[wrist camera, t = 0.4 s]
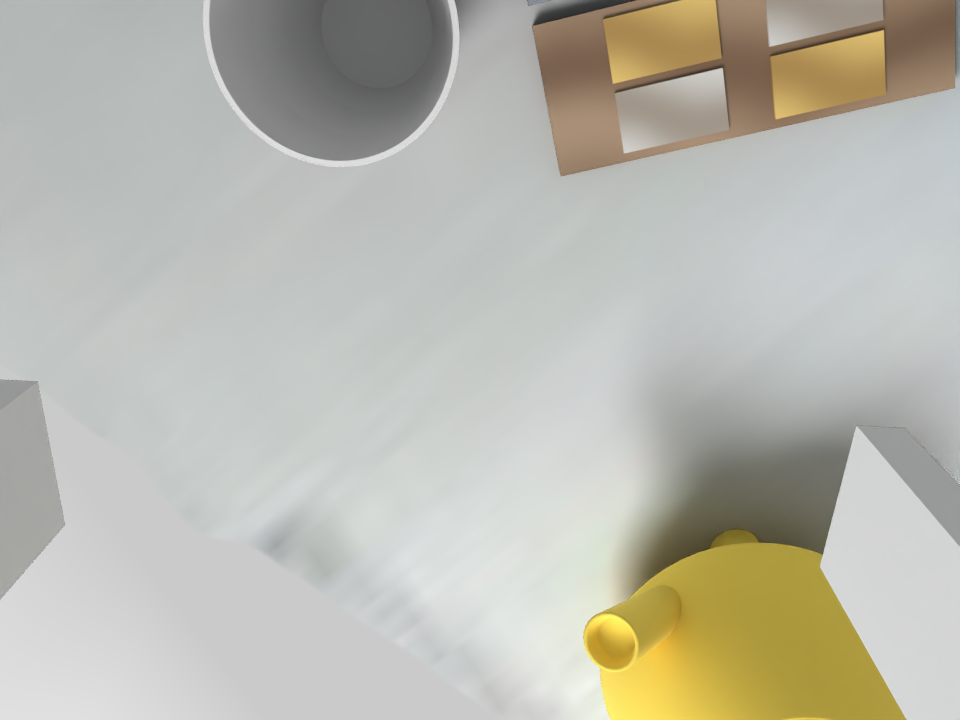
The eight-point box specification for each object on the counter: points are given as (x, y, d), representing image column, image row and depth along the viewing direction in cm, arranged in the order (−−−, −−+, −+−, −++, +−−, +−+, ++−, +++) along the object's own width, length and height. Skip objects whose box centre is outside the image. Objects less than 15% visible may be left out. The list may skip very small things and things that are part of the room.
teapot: (482, 578, 46) (473, 792, 33) (686, 399, 41) (766, 570, 28) (716, 754, 51) (785, 999, 38) (923, 613, 46) (1081, 840, 33)
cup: (442, -102, 32) (417, -147, 23) (492, 101, 36) (487, 132, 26) (255, -45, 34) (161, -66, 24) (320, 148, 37) (257, 193, 27)
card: (532, 26, 34) (532, 26, 34) (947, -77, 32) (957, -79, 32) (560, 173, 37) (561, 176, 36) (948, 86, 35) (956, 88, 34)
